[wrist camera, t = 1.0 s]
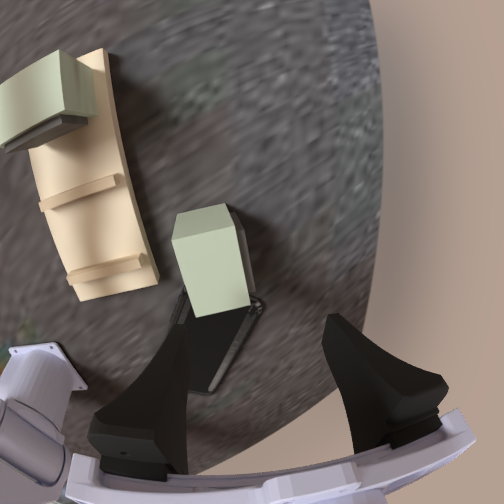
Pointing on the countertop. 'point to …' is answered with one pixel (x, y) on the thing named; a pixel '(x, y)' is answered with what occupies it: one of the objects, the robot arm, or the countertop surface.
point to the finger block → (213, 259)
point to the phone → (213, 340)
